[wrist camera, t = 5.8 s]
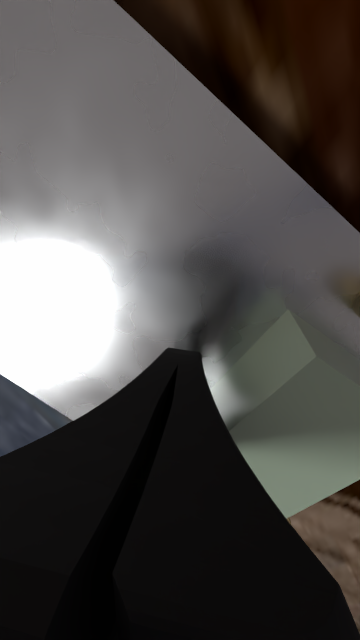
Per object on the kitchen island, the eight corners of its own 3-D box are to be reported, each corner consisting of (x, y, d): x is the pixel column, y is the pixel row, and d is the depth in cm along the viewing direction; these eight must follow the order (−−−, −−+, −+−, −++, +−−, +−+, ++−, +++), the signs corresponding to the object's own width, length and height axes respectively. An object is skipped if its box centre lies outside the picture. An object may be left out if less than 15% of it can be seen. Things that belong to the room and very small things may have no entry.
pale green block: (373, 369, 9) (435, 438, 7) (222, 481, 13) (222, 553, 10) (288, 309, 9) (316, 356, 6) (157, 442, 13) (140, 507, 10)
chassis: (477, 353, 9) (604, 429, 6) (224, 499, 15) (224, 575, 12) (30, -65, 7) (-140, -301, 4) (-68, 307, 13) (-165, 343, 9)
